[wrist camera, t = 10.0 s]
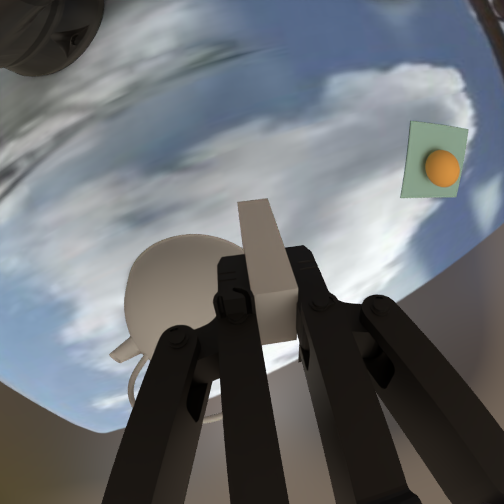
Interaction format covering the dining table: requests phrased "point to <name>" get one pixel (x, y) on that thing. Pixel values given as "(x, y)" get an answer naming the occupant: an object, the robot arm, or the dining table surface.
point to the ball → (442, 168)
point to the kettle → (170, 294)
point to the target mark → (420, 147)
